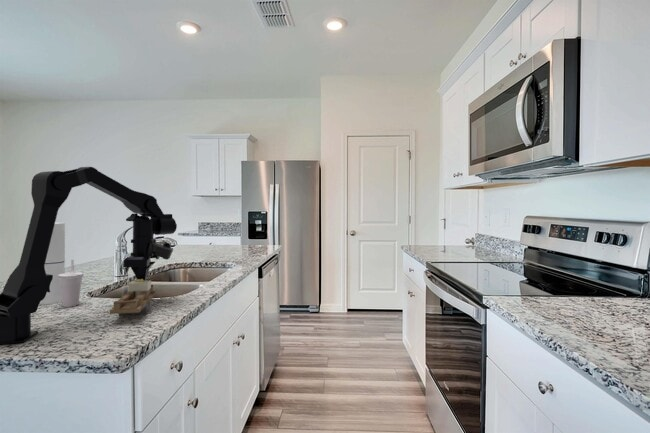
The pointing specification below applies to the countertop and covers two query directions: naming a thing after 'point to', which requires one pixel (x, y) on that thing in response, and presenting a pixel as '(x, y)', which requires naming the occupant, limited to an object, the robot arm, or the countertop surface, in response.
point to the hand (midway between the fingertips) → (142, 285)
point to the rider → (139, 286)
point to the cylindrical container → (55, 263)
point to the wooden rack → (134, 303)
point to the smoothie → (70, 286)
